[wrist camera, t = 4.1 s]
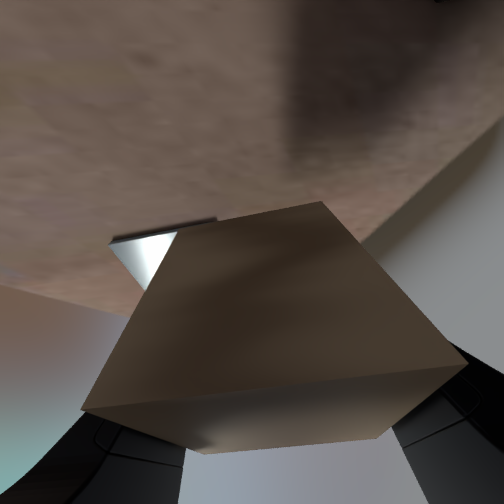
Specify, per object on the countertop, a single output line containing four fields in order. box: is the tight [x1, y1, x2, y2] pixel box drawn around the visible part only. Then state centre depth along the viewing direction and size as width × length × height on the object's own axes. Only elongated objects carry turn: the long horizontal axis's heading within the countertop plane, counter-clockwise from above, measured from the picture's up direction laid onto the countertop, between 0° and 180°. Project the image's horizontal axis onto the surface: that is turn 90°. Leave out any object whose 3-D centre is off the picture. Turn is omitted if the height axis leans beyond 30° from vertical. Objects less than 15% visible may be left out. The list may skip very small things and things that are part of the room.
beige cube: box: [81, 201, 469, 454], centre depth 7 cm, size 6×6×6 cm
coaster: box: [108, 222, 212, 290], centre depth 20 cm, size 10×10×1 cm
